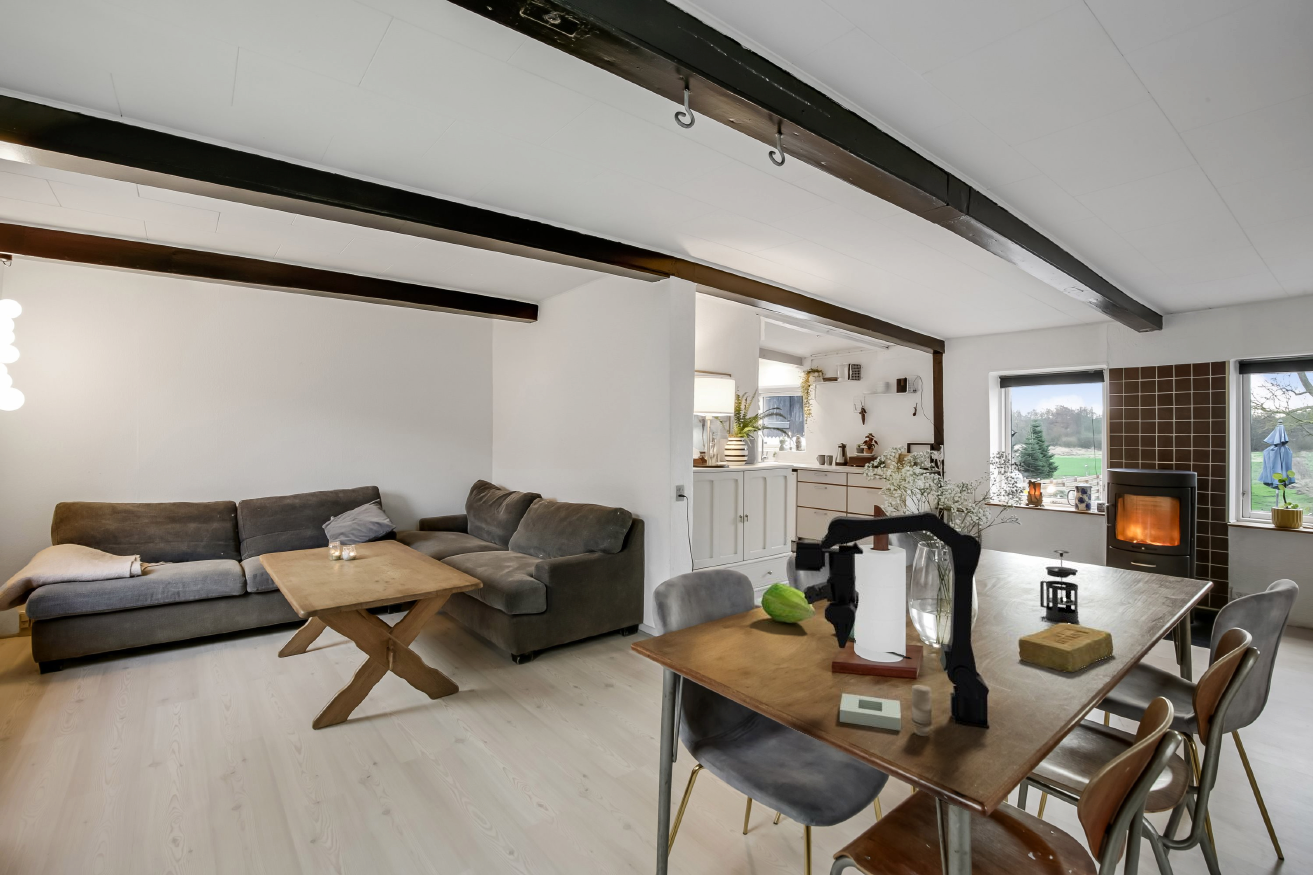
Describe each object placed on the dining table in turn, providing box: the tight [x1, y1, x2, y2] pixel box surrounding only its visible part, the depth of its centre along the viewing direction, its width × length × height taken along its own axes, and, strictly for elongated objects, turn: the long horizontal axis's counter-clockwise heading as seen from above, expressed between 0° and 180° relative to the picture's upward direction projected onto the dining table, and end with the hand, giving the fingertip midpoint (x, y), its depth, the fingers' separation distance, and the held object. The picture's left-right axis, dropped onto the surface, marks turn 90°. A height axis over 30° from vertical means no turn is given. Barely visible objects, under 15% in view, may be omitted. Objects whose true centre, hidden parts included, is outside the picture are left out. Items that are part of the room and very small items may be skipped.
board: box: [839, 693, 902, 732], centre depth 132 cm, size 12×9×2 cm
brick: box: [1018, 623, 1114, 673], centre depth 169 cm, size 13×26×7 cm, turn 124°
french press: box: [1039, 549, 1080, 624], centre depth 204 cm, size 12×9×23 cm
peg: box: [911, 684, 933, 737], centre depth 125 cm, size 4×4×9 cm
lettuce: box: [760, 582, 816, 623], centre depth 200 cm, size 14×20×12 cm
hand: (843, 641), depth 138 cm, fingers open, 9 cm apart
